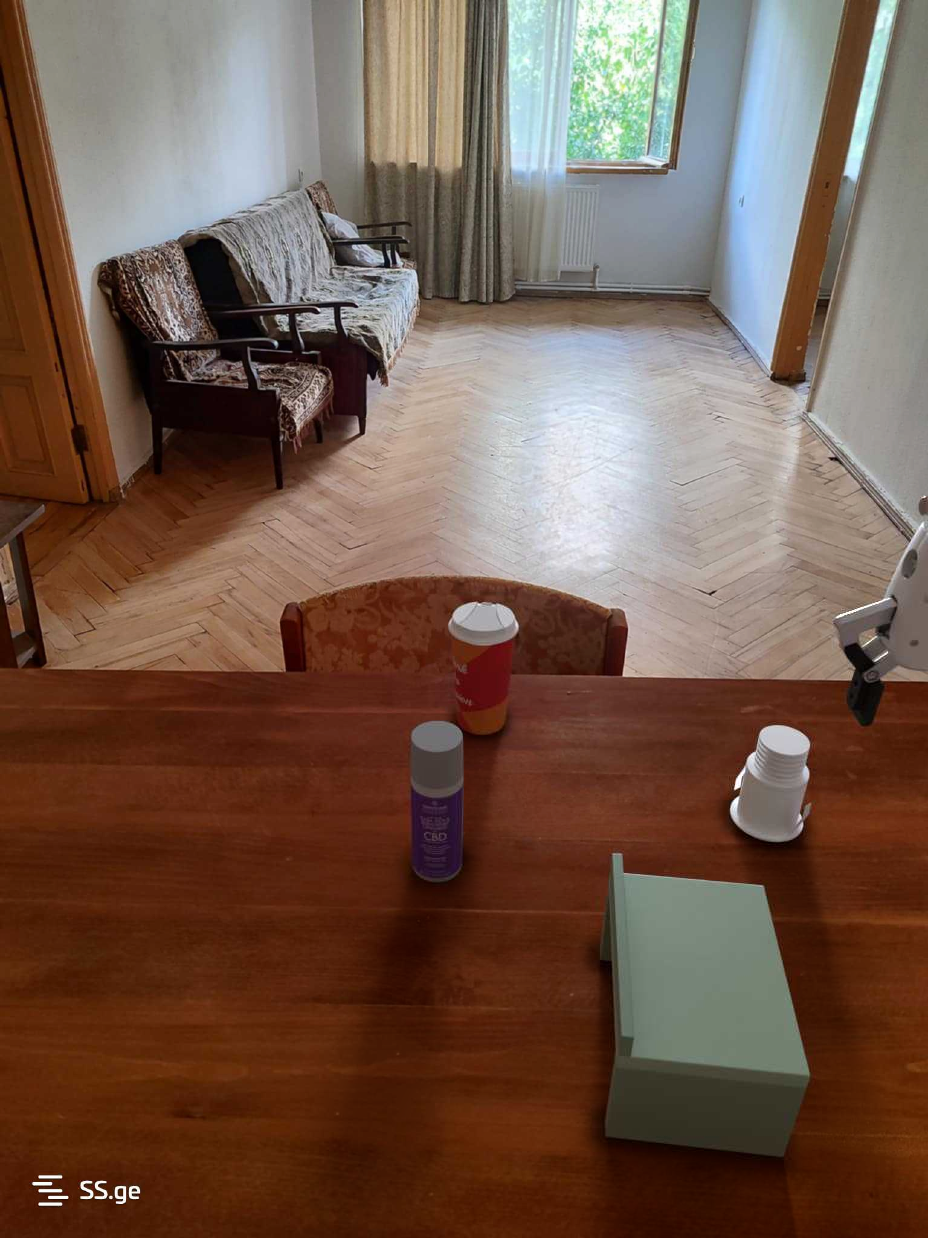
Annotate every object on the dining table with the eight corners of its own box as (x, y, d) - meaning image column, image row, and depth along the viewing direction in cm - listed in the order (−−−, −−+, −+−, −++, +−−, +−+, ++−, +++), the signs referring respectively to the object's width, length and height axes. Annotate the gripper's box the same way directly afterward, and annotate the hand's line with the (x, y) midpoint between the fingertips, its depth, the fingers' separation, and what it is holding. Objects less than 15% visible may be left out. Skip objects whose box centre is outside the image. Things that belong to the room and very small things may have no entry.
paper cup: (453, 698, 107) (453, 596, 100) (516, 704, 106) (521, 601, 99) (443, 738, 100) (442, 631, 93) (510, 744, 99) (515, 637, 92)
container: (423, 888, 80) (421, 758, 73) (405, 854, 84) (401, 727, 77) (470, 873, 82) (472, 745, 75) (450, 840, 86) (451, 714, 78)
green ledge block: (744, 962, 74) (768, 866, 68) (783, 1157, 60) (817, 1057, 54) (599, 948, 75) (612, 853, 69) (605, 1137, 61) (621, 1036, 56)
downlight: (821, 829, 88) (843, 749, 83) (775, 857, 84) (795, 776, 79) (756, 784, 93) (774, 707, 88) (711, 810, 90) (726, 731, 85)
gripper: (891, 533, 57) (825, 743, 65) (1160, 546, 57) (1058, 755, 65) (850, 489, 63) (795, 686, 72) (1091, 501, 63) (1007, 696, 72)
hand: (920, 719), depth 69 cm, fingers open, 9 cm apart
